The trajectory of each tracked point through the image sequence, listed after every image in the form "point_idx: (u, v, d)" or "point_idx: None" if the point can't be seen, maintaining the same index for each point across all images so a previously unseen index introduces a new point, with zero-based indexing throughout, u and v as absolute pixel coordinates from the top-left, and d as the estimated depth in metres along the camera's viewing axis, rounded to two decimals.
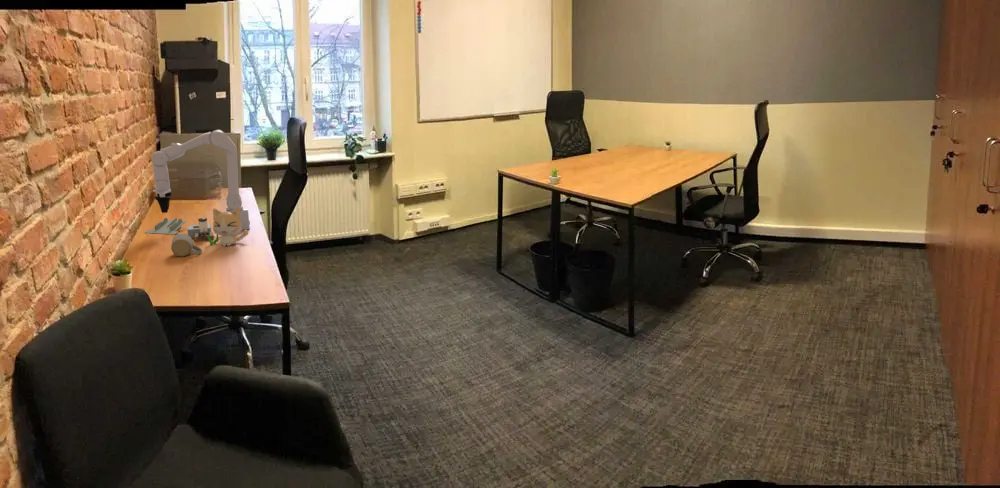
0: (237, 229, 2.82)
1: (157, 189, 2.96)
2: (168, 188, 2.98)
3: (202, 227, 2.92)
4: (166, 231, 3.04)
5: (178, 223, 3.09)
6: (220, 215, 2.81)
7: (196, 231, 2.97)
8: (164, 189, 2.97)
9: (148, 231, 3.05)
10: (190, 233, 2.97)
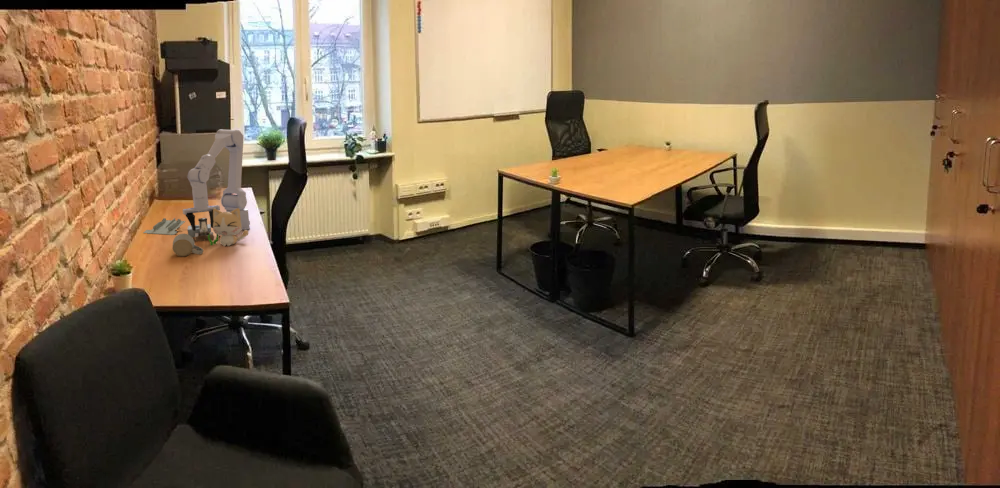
0: (237, 229, 2.82)
1: None
2: (199, 207, 2.89)
3: (202, 227, 2.92)
4: (165, 231, 3.04)
5: (177, 223, 3.09)
6: (220, 215, 2.81)
7: (196, 231, 2.97)
8: (195, 207, 2.89)
9: (147, 231, 3.05)
10: (190, 233, 2.97)
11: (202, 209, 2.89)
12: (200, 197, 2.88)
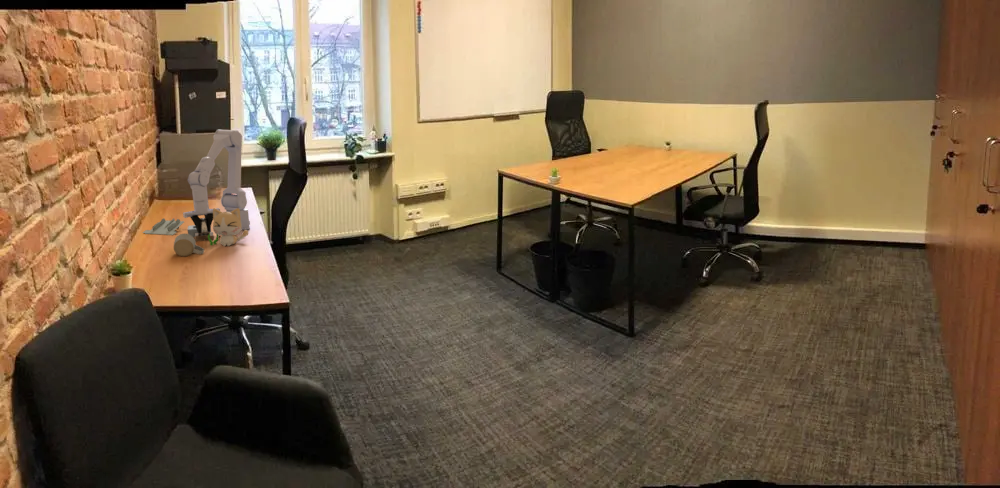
0: (237, 229, 2.82)
1: None
2: (199, 210, 2.89)
3: (202, 227, 2.92)
4: (164, 232, 3.03)
5: (176, 223, 3.08)
6: (220, 215, 2.81)
7: (196, 231, 2.97)
8: (195, 210, 2.90)
9: (146, 232, 3.04)
10: (190, 233, 2.97)
11: (202, 212, 2.90)
12: (200, 200, 2.88)
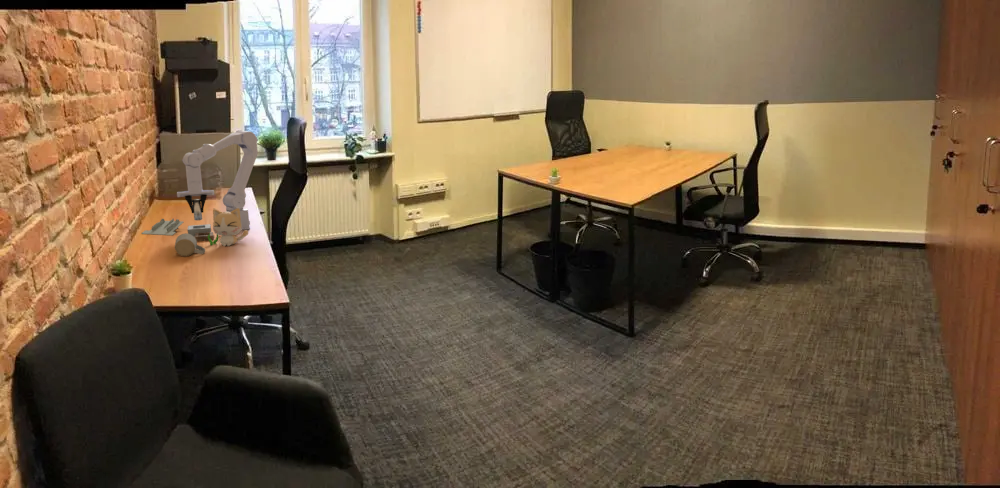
0: (237, 229, 2.82)
1: None
2: (191, 190, 2.95)
3: (195, 208, 2.97)
4: (163, 232, 3.03)
5: (175, 224, 3.08)
6: (220, 215, 2.81)
7: (196, 231, 2.97)
8: (188, 190, 2.96)
9: (145, 232, 3.04)
10: (190, 233, 2.97)
11: (193, 193, 2.95)
12: (191, 181, 2.93)
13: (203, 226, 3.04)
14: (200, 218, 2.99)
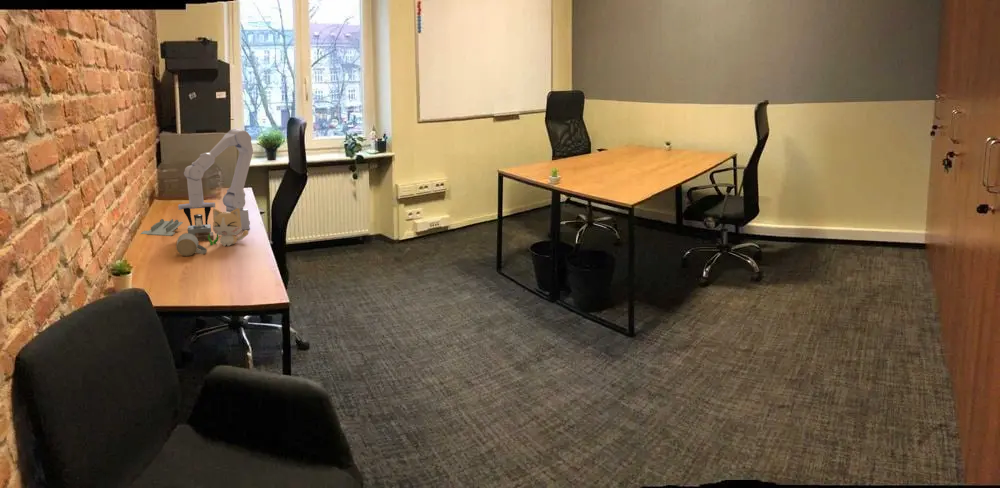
0: (237, 229, 2.82)
1: None
2: (192, 203, 2.96)
3: (197, 224, 2.99)
4: (162, 232, 3.02)
5: (174, 224, 3.07)
6: (220, 215, 2.81)
7: (196, 231, 2.97)
8: (189, 203, 2.97)
9: (144, 232, 3.03)
10: (190, 233, 2.97)
11: (195, 205, 2.96)
12: (192, 194, 2.95)
13: (203, 226, 3.04)
14: None
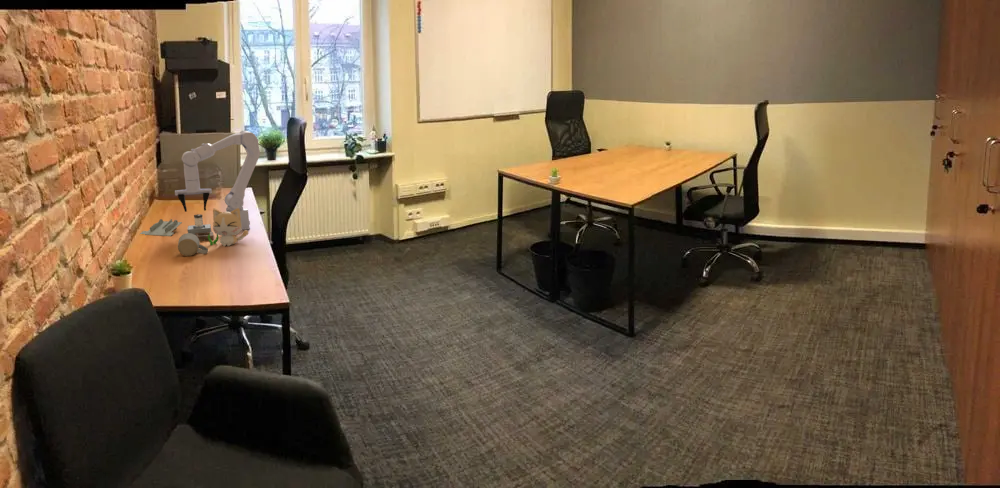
0: (237, 229, 2.82)
1: None
2: (188, 189, 2.98)
3: (197, 223, 2.99)
4: (161, 232, 3.02)
5: (173, 224, 3.07)
6: (220, 215, 2.81)
7: (196, 231, 2.97)
8: (186, 189, 2.99)
9: (143, 233, 3.02)
10: None
11: (191, 191, 2.98)
12: (187, 179, 2.97)
13: (203, 226, 3.04)
14: None
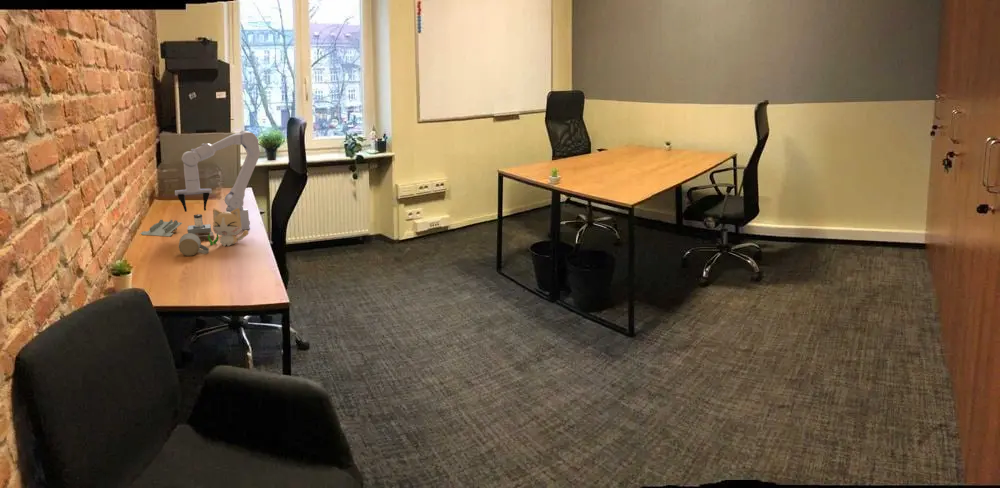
0: (237, 229, 2.82)
1: None
2: (188, 189, 2.98)
3: (197, 224, 2.99)
4: (161, 233, 3.01)
5: (173, 225, 3.06)
6: (220, 215, 2.81)
7: (196, 231, 2.97)
8: (186, 189, 2.99)
9: (143, 233, 3.02)
10: None
11: (191, 191, 2.98)
12: (187, 179, 2.97)
13: (203, 226, 3.04)
14: None
